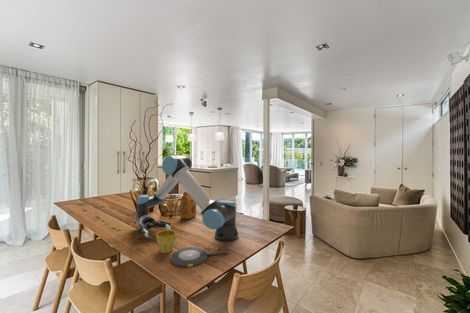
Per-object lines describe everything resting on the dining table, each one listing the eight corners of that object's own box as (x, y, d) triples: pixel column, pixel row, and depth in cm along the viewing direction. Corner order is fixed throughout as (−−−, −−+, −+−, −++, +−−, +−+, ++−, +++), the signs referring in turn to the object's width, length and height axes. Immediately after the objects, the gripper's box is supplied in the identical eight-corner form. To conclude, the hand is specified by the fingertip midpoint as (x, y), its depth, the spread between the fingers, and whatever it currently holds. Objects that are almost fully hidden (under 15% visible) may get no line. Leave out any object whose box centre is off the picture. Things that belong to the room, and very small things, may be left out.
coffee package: (198, 216, 188) (198, 190, 187) (188, 220, 177) (188, 192, 176) (188, 214, 192) (188, 188, 191) (178, 218, 181) (178, 191, 181)
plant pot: (159, 257, 118) (159, 238, 118) (153, 249, 126) (153, 232, 126) (178, 251, 124) (178, 234, 124) (172, 245, 132) (172, 228, 132)
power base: (224, 246, 131) (224, 244, 131) (232, 262, 113) (232, 259, 113) (171, 251, 124) (171, 249, 124) (170, 269, 106) (170, 266, 106)
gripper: (165, 223, 157) (179, 233, 141) (126, 231, 141) (136, 243, 125) (165, 213, 157) (179, 221, 140) (126, 219, 141) (137, 230, 125)
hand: (159, 232), depth 133 cm, fingers open, 13 cm apart
